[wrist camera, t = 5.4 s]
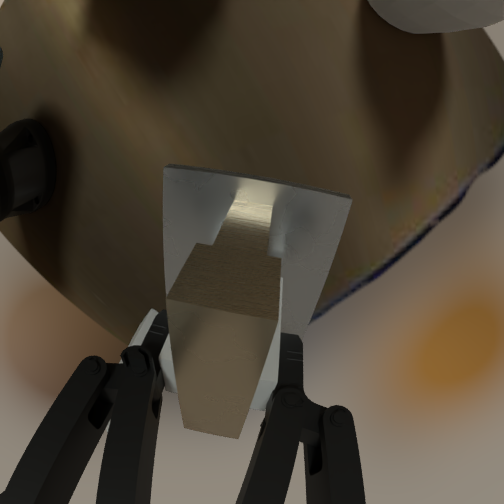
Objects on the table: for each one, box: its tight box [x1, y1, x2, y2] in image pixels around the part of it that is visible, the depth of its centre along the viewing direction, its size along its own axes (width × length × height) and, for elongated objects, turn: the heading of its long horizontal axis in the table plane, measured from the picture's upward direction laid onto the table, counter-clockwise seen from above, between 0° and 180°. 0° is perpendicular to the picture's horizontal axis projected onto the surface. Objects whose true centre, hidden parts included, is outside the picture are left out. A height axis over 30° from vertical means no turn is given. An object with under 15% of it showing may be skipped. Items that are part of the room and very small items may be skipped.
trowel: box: [163, 164, 352, 439], centre depth 13 cm, size 12×10×9 cm
